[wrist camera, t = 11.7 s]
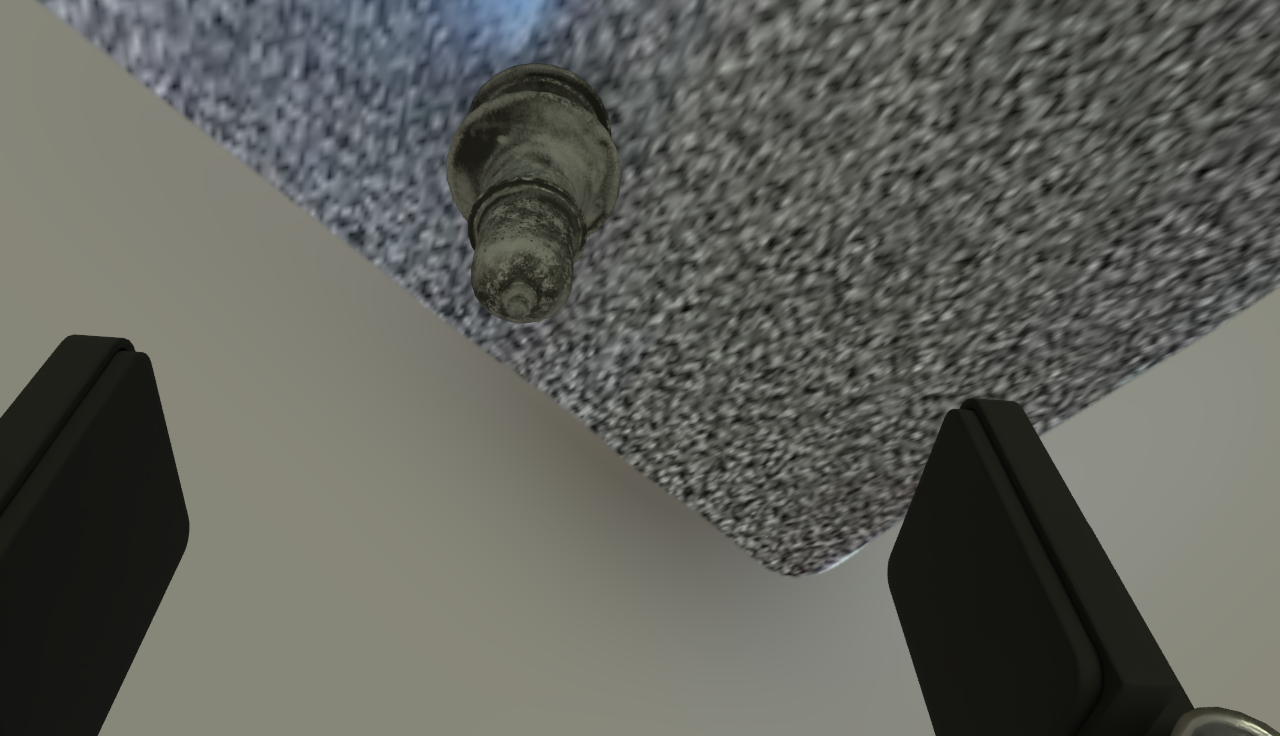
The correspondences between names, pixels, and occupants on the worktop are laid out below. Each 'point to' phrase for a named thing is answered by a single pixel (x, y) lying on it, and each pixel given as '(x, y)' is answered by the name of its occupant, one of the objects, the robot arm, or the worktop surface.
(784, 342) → the worktop surface
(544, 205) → the dark grey rounded piece
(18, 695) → the robot arm
